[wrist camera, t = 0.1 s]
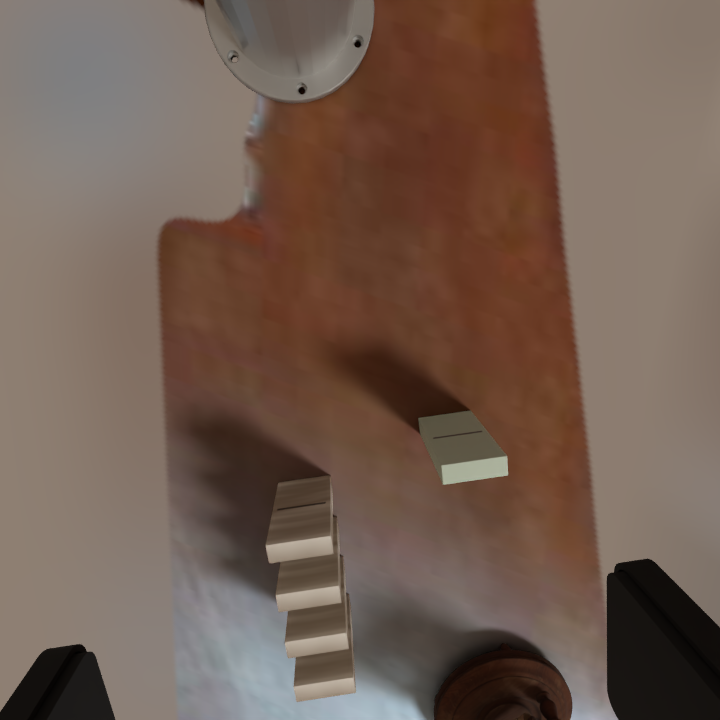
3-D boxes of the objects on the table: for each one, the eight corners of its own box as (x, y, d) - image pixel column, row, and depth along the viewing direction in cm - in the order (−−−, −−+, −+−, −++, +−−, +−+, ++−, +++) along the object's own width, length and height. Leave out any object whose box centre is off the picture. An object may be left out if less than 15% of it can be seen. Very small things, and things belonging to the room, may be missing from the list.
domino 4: (300, 601, 51) (293, 686, 42) (348, 593, 52) (353, 677, 42) (302, 614, 52) (296, 702, 42) (350, 607, 52) (355, 692, 42)
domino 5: (418, 417, 47) (441, 465, 38) (470, 410, 47) (506, 455, 38) (420, 433, 48) (443, 485, 38) (471, 426, 48) (508, 475, 38)
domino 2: (285, 523, 49) (275, 594, 40) (336, 516, 49) (338, 585, 40) (288, 538, 50) (279, 612, 40) (338, 530, 50) (341, 602, 40)
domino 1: (278, 482, 48) (265, 545, 38) (330, 474, 48) (330, 535, 39) (281, 497, 48) (269, 563, 39) (332, 490, 49) (333, 554, 39)
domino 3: (293, 563, 50) (284, 642, 41) (342, 555, 50) (346, 632, 41) (295, 577, 51) (288, 658, 41) (345, 569, 51) (348, 649, 41)
